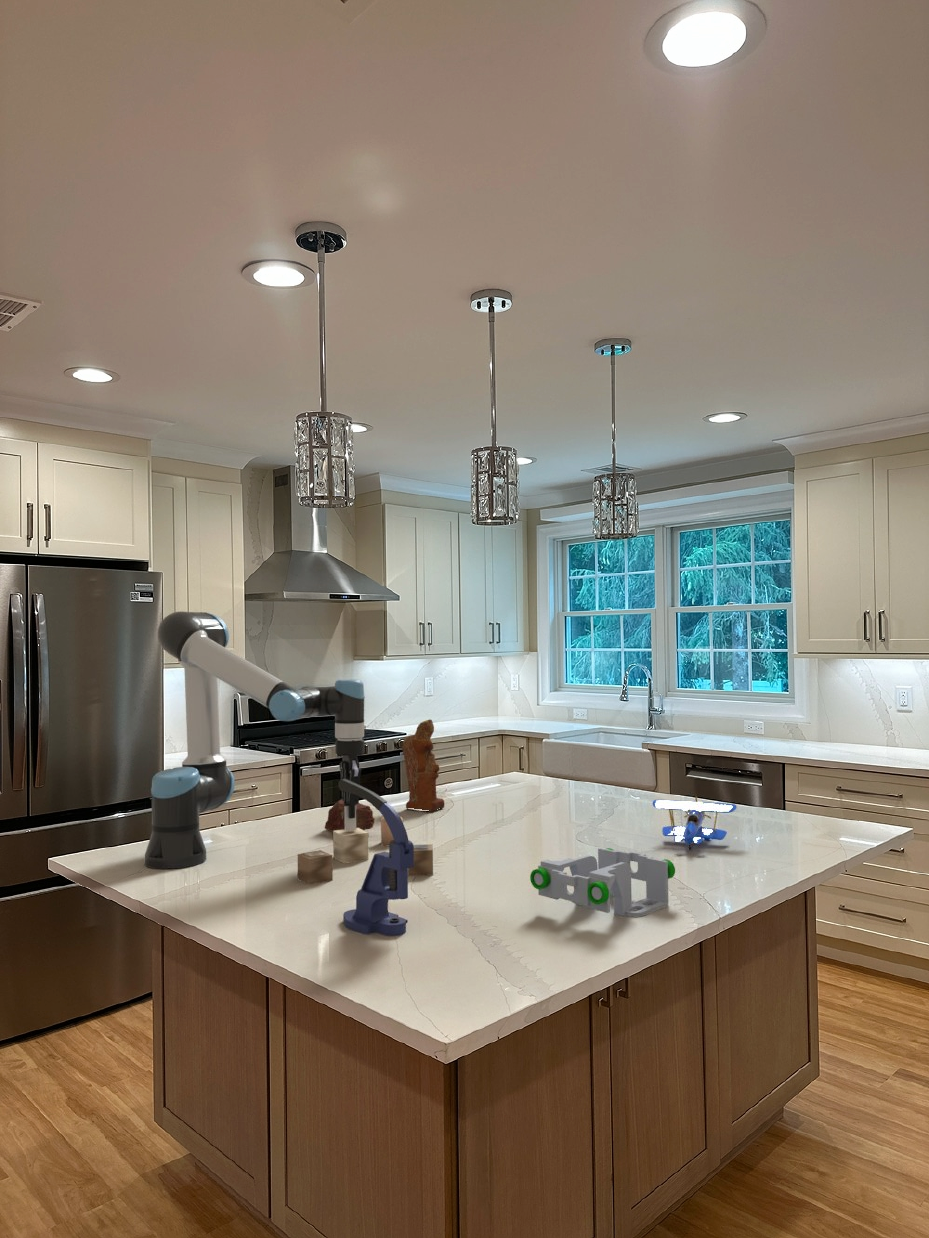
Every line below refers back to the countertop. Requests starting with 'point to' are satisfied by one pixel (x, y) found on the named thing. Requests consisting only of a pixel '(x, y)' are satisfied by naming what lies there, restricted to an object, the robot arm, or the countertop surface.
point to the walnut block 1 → (315, 867)
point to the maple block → (350, 845)
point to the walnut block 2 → (422, 860)
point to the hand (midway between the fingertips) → (350, 830)
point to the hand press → (381, 874)
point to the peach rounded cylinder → (386, 832)
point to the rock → (338, 817)
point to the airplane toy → (693, 820)
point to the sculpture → (421, 769)
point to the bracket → (606, 881)
